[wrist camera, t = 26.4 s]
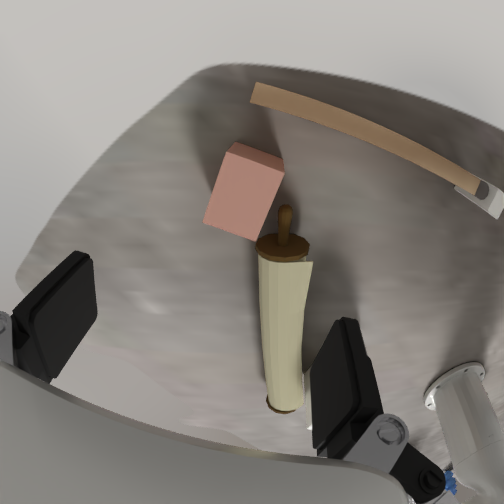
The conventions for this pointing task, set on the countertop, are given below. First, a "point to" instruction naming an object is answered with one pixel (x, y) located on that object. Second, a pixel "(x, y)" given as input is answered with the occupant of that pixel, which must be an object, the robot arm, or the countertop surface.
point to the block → (244, 191)
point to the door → (367, 134)
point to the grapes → (450, 482)
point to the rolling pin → (283, 311)
